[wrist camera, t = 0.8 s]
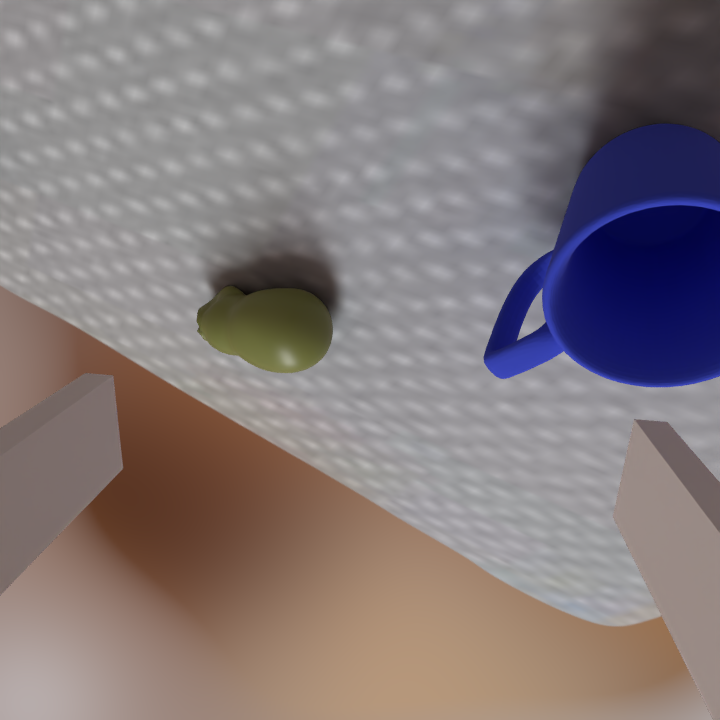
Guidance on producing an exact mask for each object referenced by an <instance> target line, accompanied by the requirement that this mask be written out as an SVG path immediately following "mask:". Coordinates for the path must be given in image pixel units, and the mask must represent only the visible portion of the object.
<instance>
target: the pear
mask: <svg viewBox="0 0 720 720" xmlns="http://www.w3.org/2000/svg"><path fill="white" fill-rule="evenodd" d="M197 314H198V315H197V323H198V325H199V328H198V330H197V332H198V333H199V334H200V335H201V336H202V338H203V339H204V340H206V341H208V343H209V344H210V345H211V346H212V347H214V348H215V349H217V350H218V351H220V352H222V353H225V354H229V355H238V356H240V357H241V358H242V359H244V360H245V361H247V362H248V363H250V364H252V365H254V366H256V367H258V368H261V369H263V370H267V371H271V372H277V373H293V372H299V371H303V370H306V369H308V368H310V367H312V366H314V365H315V364H316V363H318V362H319V361H320V360H321V359H322V358H323V357H324V356H325V354H326V353H327V351H328V349H329V346H330V344H331V340H332V334H333V326H332V320H331V316H330V314H329V312H328V310H327V308H326V307H325V305H324V304H323V303H322V302H321V300H319V299H318V298H317V297H316V296H315V295H313V294H311V293H309V292H307V291H305V290H301V289H296V288H274V289H266V290H261V291H257V292H254V293H251V294H249V295H245V294H244V293H243V292H242V291H240V290H239V289H238V288H236V287H234V286H226V287H224V288H223V289H222V290H221V291H220V292H219V293H218V294H217V295H216V296H215V297H214V298H213V299H212V300H211V301H210V302H208V303H207V304H205V305H204V306H202V307H201V308H200V309H199V310H198V313H197Z"/></svg>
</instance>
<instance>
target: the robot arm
mask: <svg viewBox="0 0 720 720" xmlns="http://www.w3.org/2000/svg"><path fill="white" fill-rule="evenodd" d="M122 469H123V465H122V456H121V446H120V436H119V428H118V418H117V408H116V398H115V389H114V380H113V376H112V375H100V374H88V373H85V374H83V375H82V376H80V377H79V378H77V379H76V380H74V381H73V382H71V383H69V384H68V385H66V386H65V387H63V388H62V389H60V390H59V391H57V392H55V393H54V394H53V395H51V396H49V397H48V398H46V399H45V400H43V401H42V402H40V403H39V404H37V405H35V406H34V407H32V408H31V409H29V410H28V411H26V412H25V413H23V414H22V415H20V416H18V417H17V418H15V419H14V420H12V421H11V422H9V423H8V424H7V425H5V426H3V427H1V428H0V595H1V594H2V593H3V592H4V591H5V590H6V589H7V588H8V587H9V586H10V585H11V584H12V583H13V582H14V581H15V580H16V579H17V578H18V577H19V576H20V575H21V573H22V572H23V571H24V570H25V569H26V568H27V567H28V566H29V565H30V564H31V563H32V562H33V561H34V560H35V559H36V558H37V557H38V556H39V555H40V554H41V553H42V552H43V551H44V550H45V549H46V548H47V547H48V546H49V545H50V543H51V542H52V541H53V540H54V539H55V538H56V537H57V536H58V535H59V534H60V533H61V532H62V531H63V530H64V529H65V528H66V527H67V526H68V525H69V524H70V523H71V521H73V520H74V519H75V517H76V516H77V515H78V514H79V513H80V512H81V511H82V510H83V509H84V508H85V507H86V506H87V505H88V504H89V503H90V502H91V501H92V500H93V499H94V498H95V497H96V496H97V495H98V494H99V492H101V491H102V490H103V489H104V488H105V486H106V485H107V484H108V483H109V482H110V481H111V480H112V479H113V478H114V477H115V476H116V475H117V474H118V473H119V472H120V471H121V470H122ZM613 518H614V520H615V522H616V524H617V526H618V528H619V530H620V532H621V534H622V536H623V538H624V540H625V542H626V544H627V546H628V549H629V551H630V553H631V555H632V557H633V559H634V561H635V563H636V565H637V567H638V569H639V571H640V573H641V575H642V577H643V579H644V581H645V583H646V585H647V587H648V589H649V591H650V593H651V595H652V597H653V599H654V601H655V603H656V605H657V607H658V609H659V611H660V613H661V615H662V617H663V619H664V621H665V623H666V626H667V628H668V629H669V632H670V634H671V635H672V638H673V639H674V642H675V644H676V646H677V648H678V650H679V652H680V654H681V656H682V658H683V660H684V662H685V664H686V666H687V668H688V670H689V672H690V674H691V676H692V678H693V680H694V682H695V684H696V686H697V688H698V690H699V692H700V694H701V696H702V698H703V700H704V702H705V705H706V707H707V708H708V711H709V713H710V715H711V717H712V719H713V720H720V482H719V481H718V480H717V479H716V478H715V477H714V475H713V474H712V473H711V472H710V471H709V470H708V469H707V467H706V466H705V465H704V464H703V463H702V462H701V460H700V459H699V458H698V457H697V456H696V455H695V454H694V452H693V451H692V450H691V449H690V448H689V447H688V445H687V444H686V443H685V442H684V441H683V440H682V438H681V437H680V436H679V435H678V434H677V433H676V432H675V430H674V429H673V428H672V427H671V426H670V425H669V423H668V422H660V421H648V420H636V419H634V423H633V427H632V432H631V436H630V441H629V445H628V450H627V455H626V459H625V464H624V468H623V473H622V477H621V482H620V487H619V491H618V496H617V500H616V505H615V509H614V514H613Z"/></svg>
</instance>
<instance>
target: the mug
mask: <svg viewBox="0 0 720 720" xmlns="http://www.w3.org/2000/svg"><path fill="white" fill-rule="evenodd" d="M542 288H543V292H542V302H543V311H544V316H545V320H546V323H545V324H544V325H543V326H541V327H540V328H539V329H538V330H536V331H534V332H533V333H531V334H529V335H527V336H525V337H523V338H522V339H520V340H518V341H517V338H518V335H519V332H520V329H521V326H522V323H523V321H524V318H525V316H526V313H527V311H528V309H529V307H530V305H531V303H532V302H533V300H534V298H535V297H536V295H537V294H538V293H539V291H540V290H541V289H542ZM563 351H564V352H565V353H566V354H568V355H569V356H570V357H571V358H572V359H573V360H574V361H576V362H577V363H578V364H580V365H581V366H583V367H584V368H586V369H588V370H589V371H591V372H593V373H595V374H598V375H600V376H602V377H605V378H607V379H610V380H613V381H617V382H620V383H625V384H630V385H635V386H643V387H674V386H683V385H689V384H695V383H698V382H702V381H706V380H710V379H713V378H716V377H719V376H720V143H719V142H718V141H717V140H715V139H714V138H713V137H711V136H709V135H708V134H706V133H704V132H702V131H700V130H697V129H695V128H692V127H688V126H684V125H679V124H653V125H647V126H643V127H639V128H636V129H633V130H630V131H628V132H626V133H623V134H621V135H619V136H618V137H616V138H614V139H613V140H611V141H610V142H608V143H607V144H606V145H604V146H603V147H602V148H601V149H600V150H599V151H597V152H596V153H595V154H594V156H593V157H592V158H591V159H590V160H589V161H588V163H587V164H586V165H585V167H584V168H583V170H582V172H581V173H580V175H579V177H578V179H577V182H576V184H575V187H574V189H573V192H572V195H571V198H570V202H569V205H568V208H567V211H566V214H565V217H564V220H563V223H562V226H561V229H560V232H559V235H558V238H557V242H556V245H555V248H554V250H552V251H550V252H548V253H547V254H545V255H544V256H542V257H540V258H539V259H538V260H536V261H535V262H534V263H533V264H532V265H530V266H529V267H528V268H527V269H526V270H525V271H524V272H523V274H522V275H521V276H520V277H519V279H518V280H517V281H516V283H515V284H514V286H513V287H512V289H511V291H510V292H509V294H508V296H507V298H506V300H505V302H504V304H503V306H502V309H501V311H500V313H499V315H498V318H497V321H496V323H495V326H494V328H493V331H492V334H491V336H490V339H489V342H488V345H487V347H486V351H485V354H484V363H485V365H486V366H487V368H488V369H489V370H490V371H491V372H492V373H493V374H494V375H495V376H496V377H498V378H501V379H506V378H509V377H512V376H515V375H517V374H520V373H522V372H525V371H527V370H529V369H531V368H534V367H536V366H538V365H540V364H542V363H544V362H546V361H548V360H550V359H552V358H553V357H555V356H557V355H558V354H560V353H562V352H563Z"/></svg>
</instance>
